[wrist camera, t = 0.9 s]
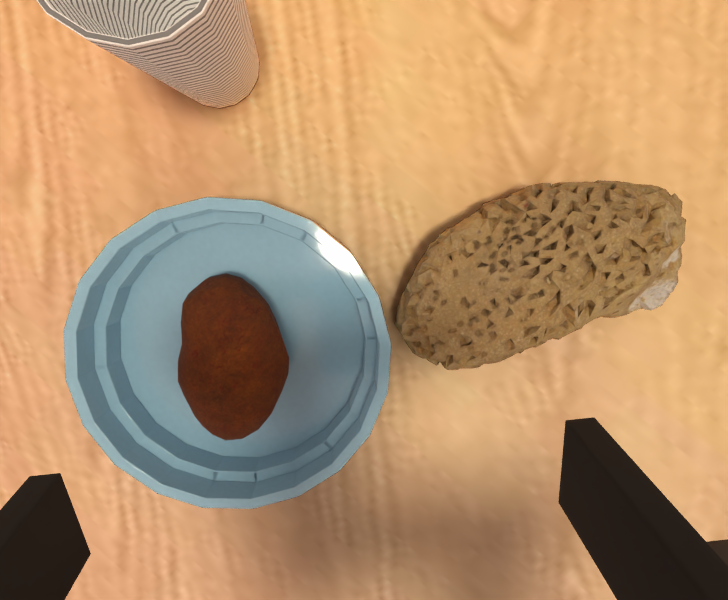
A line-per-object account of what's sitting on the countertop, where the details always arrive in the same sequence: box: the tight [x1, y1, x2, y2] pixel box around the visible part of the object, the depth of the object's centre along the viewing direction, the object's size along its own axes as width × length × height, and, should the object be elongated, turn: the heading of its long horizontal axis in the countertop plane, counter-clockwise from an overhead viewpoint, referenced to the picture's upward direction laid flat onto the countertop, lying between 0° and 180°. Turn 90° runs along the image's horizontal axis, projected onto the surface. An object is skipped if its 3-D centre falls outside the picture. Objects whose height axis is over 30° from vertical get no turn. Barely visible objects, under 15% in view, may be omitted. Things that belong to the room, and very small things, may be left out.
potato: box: [178, 273, 289, 440], centre depth 32 cm, size 8×12×8 cm, turn 9°
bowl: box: [64, 197, 391, 509], centre depth 34 cm, size 22×22×5 cm
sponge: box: [395, 181, 686, 370], centre depth 33 cm, size 13×8×20 cm
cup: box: [37, 0, 260, 108], centre depth 26 cm, size 8×8×16 cm
